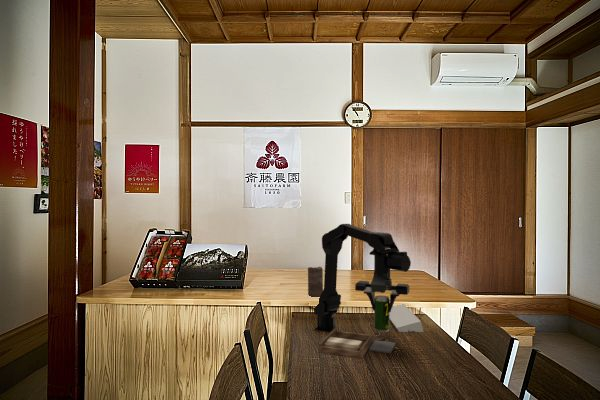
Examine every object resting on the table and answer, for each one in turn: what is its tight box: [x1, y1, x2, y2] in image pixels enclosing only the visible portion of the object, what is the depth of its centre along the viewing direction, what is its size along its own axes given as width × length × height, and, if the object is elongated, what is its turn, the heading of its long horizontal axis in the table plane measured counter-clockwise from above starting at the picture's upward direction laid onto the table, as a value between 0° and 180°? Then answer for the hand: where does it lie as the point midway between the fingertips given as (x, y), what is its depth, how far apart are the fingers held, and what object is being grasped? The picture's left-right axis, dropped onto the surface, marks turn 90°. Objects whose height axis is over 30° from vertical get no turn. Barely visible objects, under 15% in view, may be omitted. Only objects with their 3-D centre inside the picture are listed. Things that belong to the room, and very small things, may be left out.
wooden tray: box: [318, 327, 375, 359], centre depth 163 cm, size 15×20×3 cm
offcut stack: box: [325, 337, 363, 351], centre depth 158 cm, size 13×5×4 cm, turn 69°
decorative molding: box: [389, 303, 424, 333], centre depth 198 cm, size 34×5×10 cm
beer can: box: [373, 295, 390, 333], centre depth 162 cm, size 5×5×12 cm
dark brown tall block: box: [307, 266, 324, 297], centre depth 217 cm, size 8×7×20 cm
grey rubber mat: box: [368, 339, 396, 354], centre depth 162 cm, size 8×10×1 cm
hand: (382, 311), depth 162 cm, fingers closed on beer can, 5 cm apart
